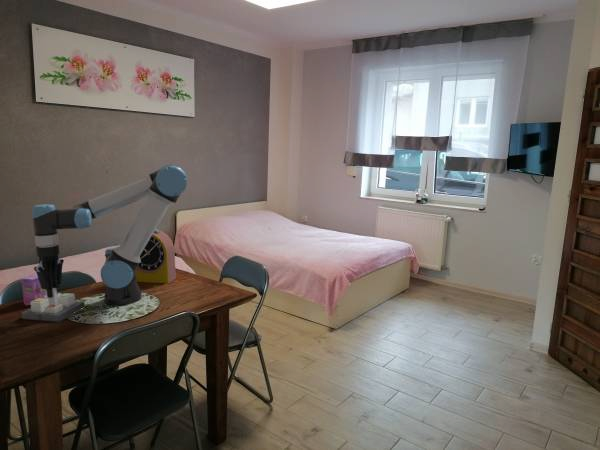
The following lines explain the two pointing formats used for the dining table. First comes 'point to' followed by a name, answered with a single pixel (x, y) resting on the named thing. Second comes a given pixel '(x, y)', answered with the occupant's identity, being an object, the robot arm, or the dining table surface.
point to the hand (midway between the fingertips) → (53, 304)
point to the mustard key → (39, 305)
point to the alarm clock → (157, 260)
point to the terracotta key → (53, 308)
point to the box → (32, 289)
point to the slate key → (47, 297)
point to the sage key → (66, 299)
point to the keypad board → (53, 316)
